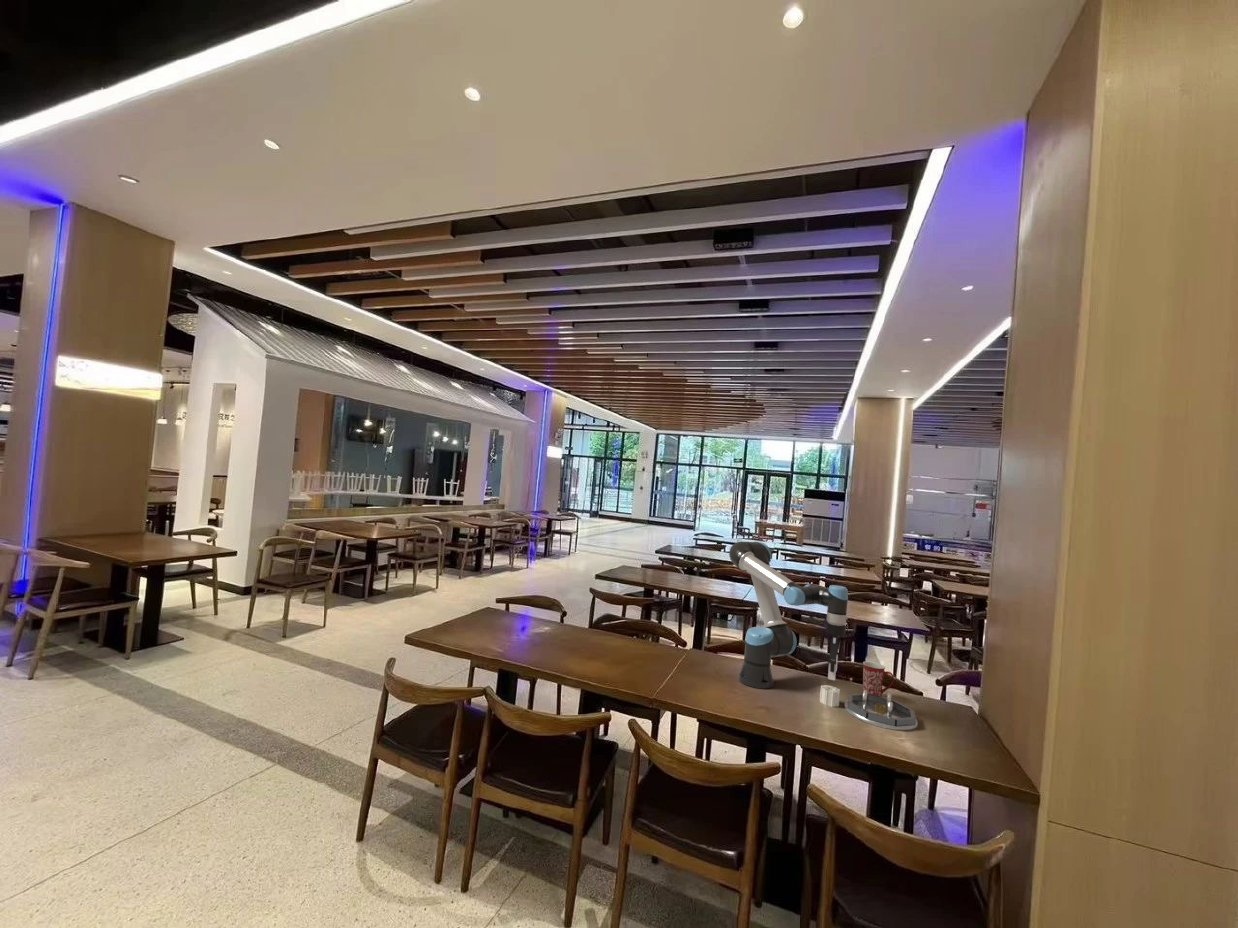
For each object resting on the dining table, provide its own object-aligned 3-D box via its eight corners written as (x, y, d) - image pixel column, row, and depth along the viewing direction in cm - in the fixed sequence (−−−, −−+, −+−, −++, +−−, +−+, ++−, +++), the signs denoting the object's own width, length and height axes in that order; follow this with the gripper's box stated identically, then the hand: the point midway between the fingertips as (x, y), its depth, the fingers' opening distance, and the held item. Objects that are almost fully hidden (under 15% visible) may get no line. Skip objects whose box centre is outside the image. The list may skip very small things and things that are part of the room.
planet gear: (819, 703, 217) (820, 689, 217) (820, 697, 224) (821, 683, 224) (838, 708, 214) (839, 693, 214) (839, 702, 221) (840, 688, 221)
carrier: (843, 717, 205) (845, 696, 206) (845, 695, 229) (847, 676, 230) (920, 737, 194) (922, 714, 194) (914, 712, 218) (916, 692, 218)
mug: (859, 695, 231) (862, 664, 232) (861, 689, 239) (863, 659, 239) (891, 704, 225) (894, 672, 226) (892, 697, 233) (894, 666, 233)
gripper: (844, 631, 207) (840, 686, 206) (846, 619, 230) (843, 668, 229) (824, 627, 210) (820, 681, 209) (828, 616, 233) (824, 664, 232)
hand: (832, 674), depth 219 cm, fingers open, 13 cm apart
